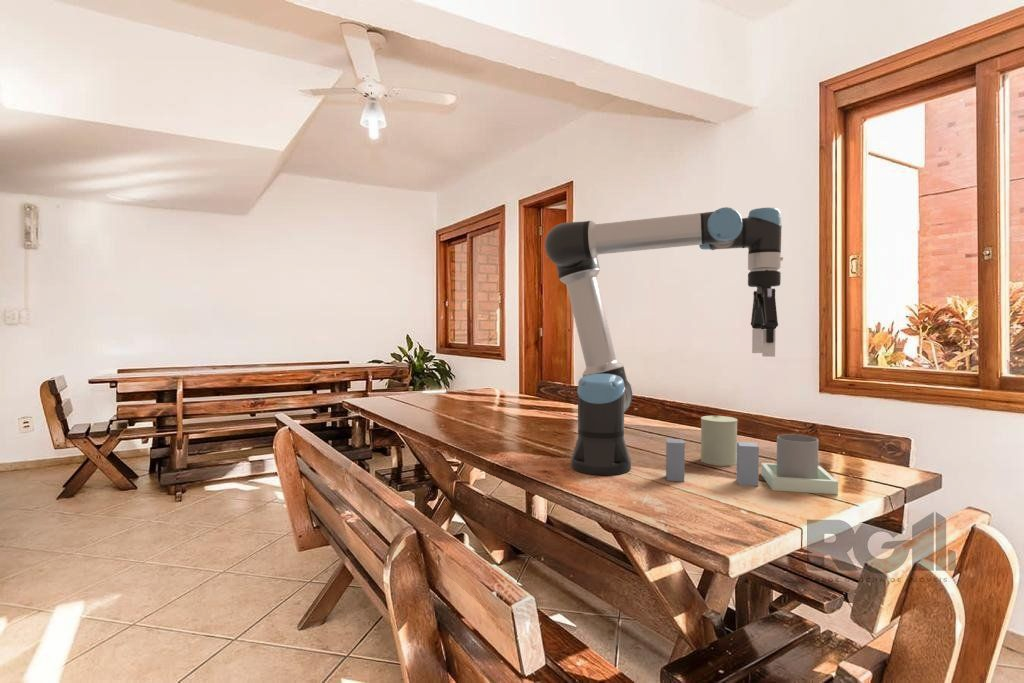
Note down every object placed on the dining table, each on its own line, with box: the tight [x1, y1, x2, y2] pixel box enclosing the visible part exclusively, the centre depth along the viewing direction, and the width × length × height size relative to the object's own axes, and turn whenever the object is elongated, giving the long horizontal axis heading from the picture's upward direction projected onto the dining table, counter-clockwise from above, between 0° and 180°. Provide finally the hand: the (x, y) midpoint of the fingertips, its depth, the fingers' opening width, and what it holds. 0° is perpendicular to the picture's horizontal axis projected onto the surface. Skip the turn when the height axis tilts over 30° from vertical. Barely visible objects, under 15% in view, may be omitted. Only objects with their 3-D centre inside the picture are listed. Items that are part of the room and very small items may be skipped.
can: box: [700, 415, 738, 467], centre depth 147 cm, size 9×9×12 cm
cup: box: [776, 433, 820, 479], centre depth 127 cm, size 8×8×10 cm
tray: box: [760, 462, 839, 495], centre depth 127 cm, size 13×13×3 cm
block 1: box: [665, 438, 686, 482], centre depth 131 cm, size 4×4×9 cm
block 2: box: [736, 441, 760, 487], centre depth 128 cm, size 4×4×9 cm
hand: (762, 354), depth 141 cm, fingers open, 13 cm apart
